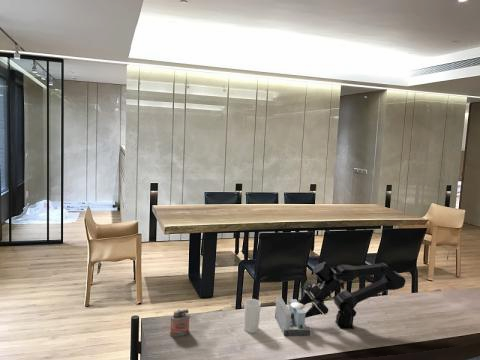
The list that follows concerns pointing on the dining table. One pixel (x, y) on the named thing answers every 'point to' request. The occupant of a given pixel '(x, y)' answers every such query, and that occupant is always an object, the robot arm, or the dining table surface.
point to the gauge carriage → (297, 313)
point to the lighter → (180, 323)
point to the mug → (251, 315)
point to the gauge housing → (287, 320)
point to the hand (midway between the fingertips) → (300, 311)
